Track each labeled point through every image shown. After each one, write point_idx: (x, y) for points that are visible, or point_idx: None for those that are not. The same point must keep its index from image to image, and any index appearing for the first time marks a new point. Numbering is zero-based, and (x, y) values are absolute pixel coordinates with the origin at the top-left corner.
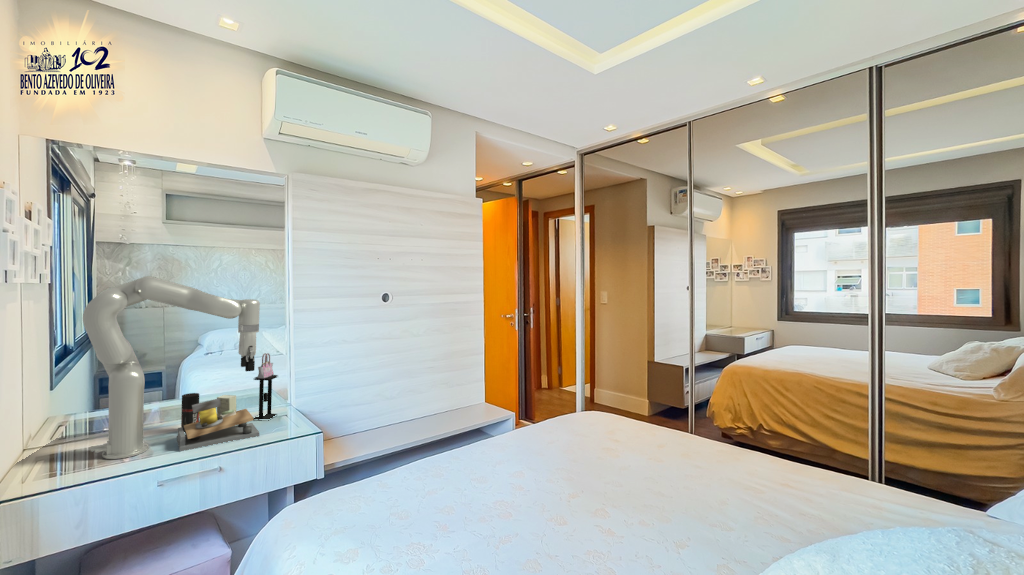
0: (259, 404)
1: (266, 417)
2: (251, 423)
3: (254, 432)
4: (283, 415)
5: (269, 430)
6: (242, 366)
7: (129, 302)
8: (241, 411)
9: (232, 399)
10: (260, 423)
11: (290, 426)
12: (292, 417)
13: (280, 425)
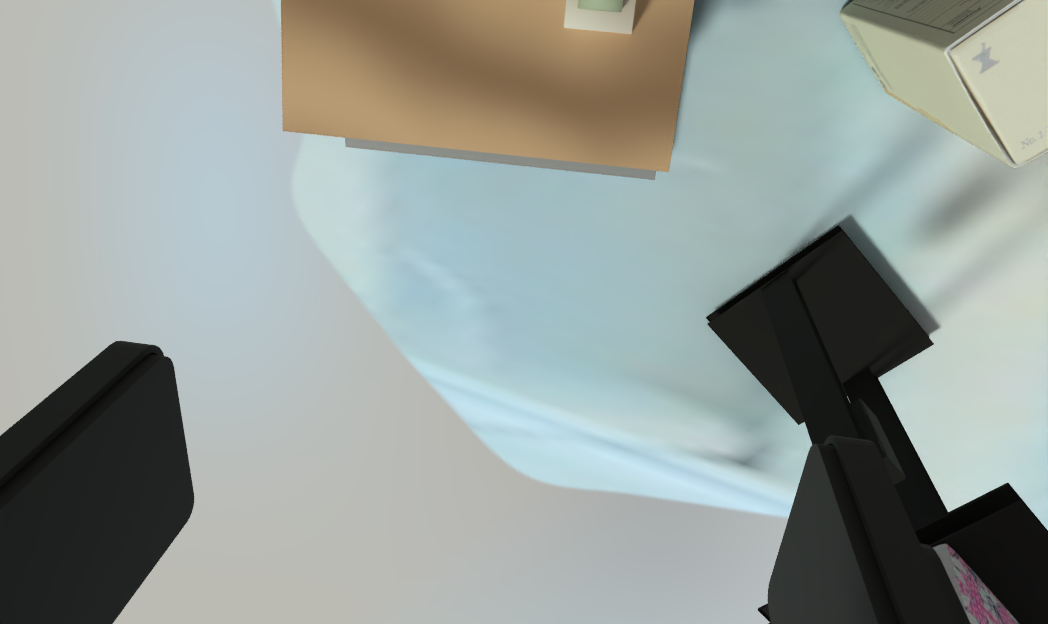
0: (812, 341)
1: (769, 329)
2: (641, 170)
3: None
4: (757, 446)
5: (448, 242)
6: (811, 465)
7: None
8: (613, 103)
9: (957, 96)
10: (682, 248)
11: (444, 383)
12: (652, 470)
13: (516, 342)
